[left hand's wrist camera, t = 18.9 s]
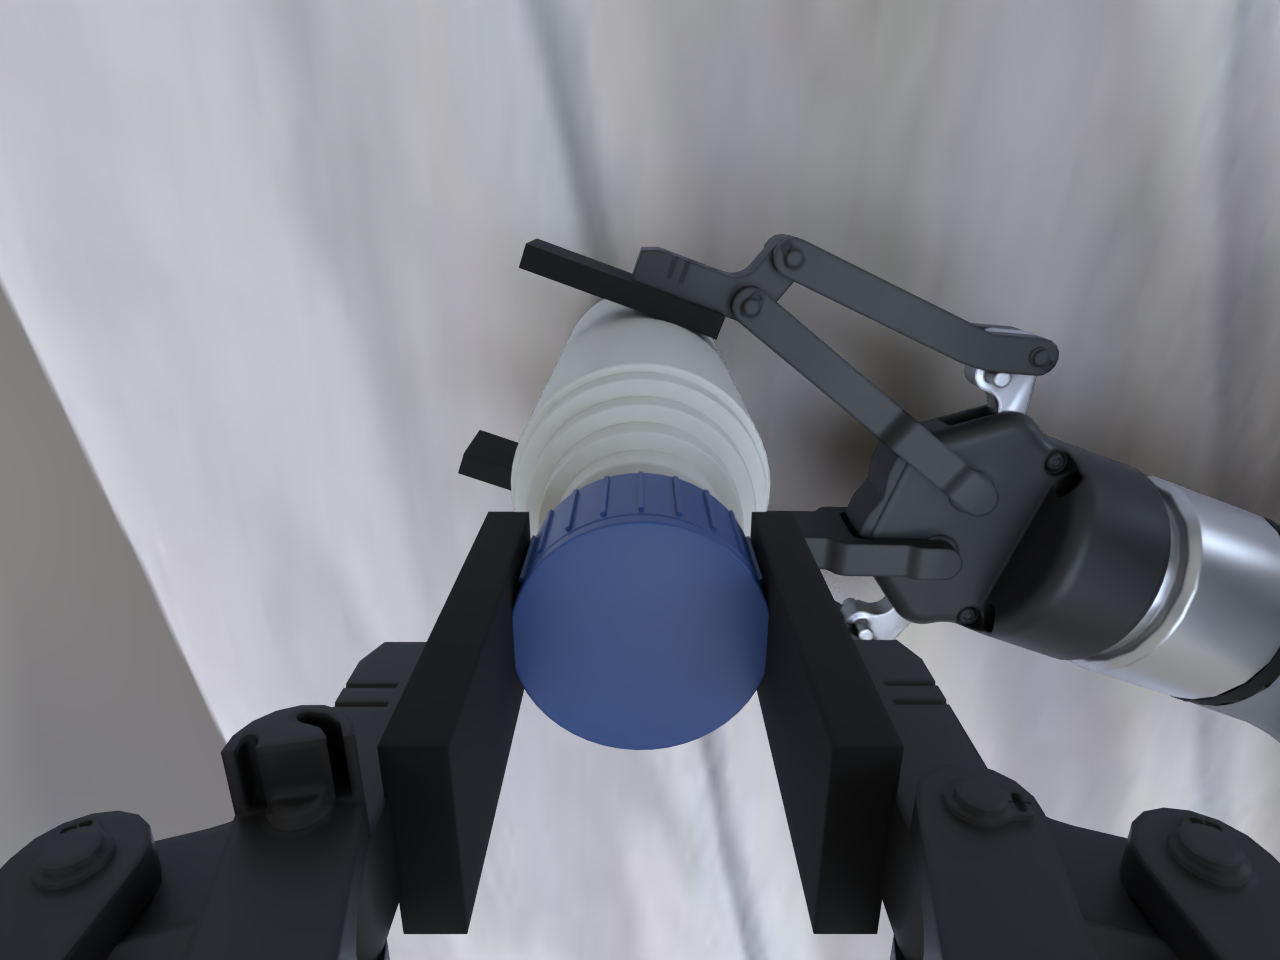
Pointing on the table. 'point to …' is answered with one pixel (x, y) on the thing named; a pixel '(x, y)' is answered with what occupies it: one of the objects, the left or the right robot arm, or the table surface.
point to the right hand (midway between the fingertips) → (498, 356)
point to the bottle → (639, 417)
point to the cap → (640, 613)
